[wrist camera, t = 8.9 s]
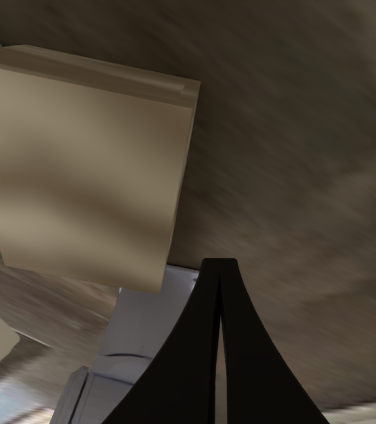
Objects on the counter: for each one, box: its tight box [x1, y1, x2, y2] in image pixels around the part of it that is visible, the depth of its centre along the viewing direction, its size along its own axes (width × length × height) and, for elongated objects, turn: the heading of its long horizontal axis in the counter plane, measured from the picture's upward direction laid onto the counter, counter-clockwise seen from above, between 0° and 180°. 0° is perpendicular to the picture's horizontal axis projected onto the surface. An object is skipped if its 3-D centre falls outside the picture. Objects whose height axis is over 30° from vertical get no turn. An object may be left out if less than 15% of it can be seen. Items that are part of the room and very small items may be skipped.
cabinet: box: [0, 44, 201, 295], centre depth 18 cm, size 13×11×6 cm
